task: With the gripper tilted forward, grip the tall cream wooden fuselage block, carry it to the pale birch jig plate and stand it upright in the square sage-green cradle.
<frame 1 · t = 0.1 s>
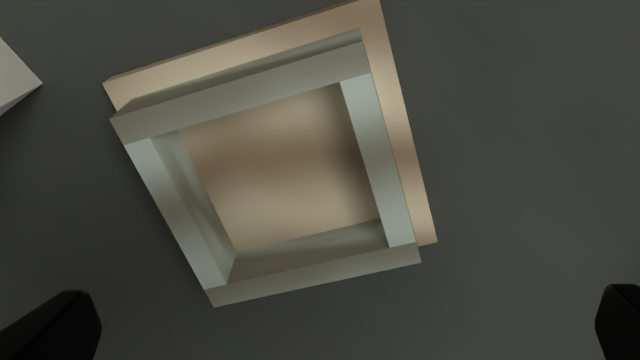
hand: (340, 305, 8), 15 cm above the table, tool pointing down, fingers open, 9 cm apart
jig: (284, 159, 23), on the table
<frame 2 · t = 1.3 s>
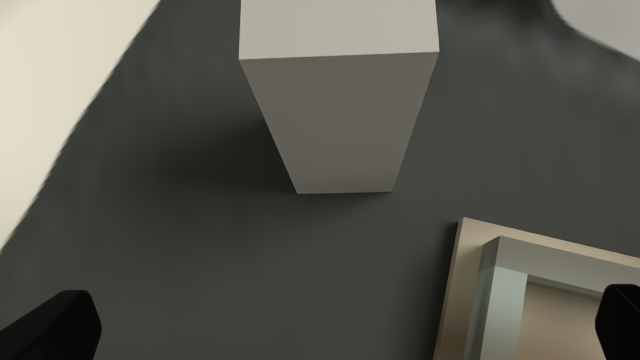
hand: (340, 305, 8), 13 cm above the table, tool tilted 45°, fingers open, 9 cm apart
fuselage block: (343, 148, 23), on the table
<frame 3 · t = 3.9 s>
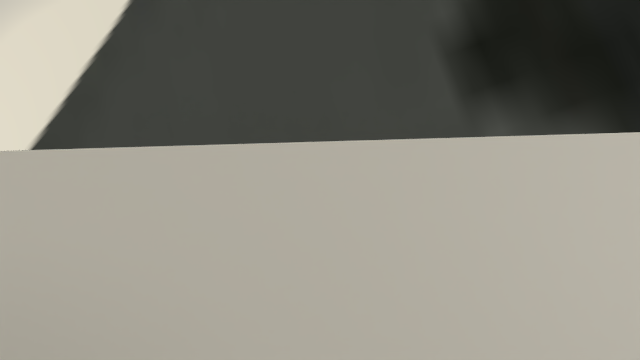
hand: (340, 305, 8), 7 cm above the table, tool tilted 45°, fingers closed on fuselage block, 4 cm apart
fuselage block: (345, 357, 14), on the table, touching gripper
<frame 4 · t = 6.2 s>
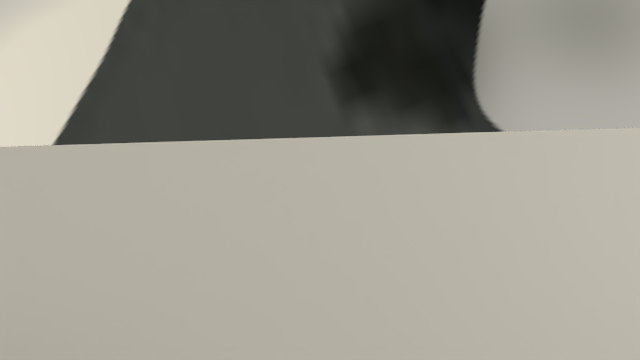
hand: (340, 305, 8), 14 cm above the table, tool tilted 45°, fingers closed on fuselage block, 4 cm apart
fuselage block: (344, 356, 14), point 7 cm above the table, touching gripper
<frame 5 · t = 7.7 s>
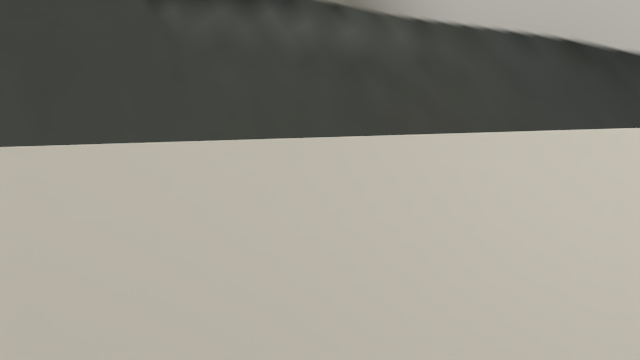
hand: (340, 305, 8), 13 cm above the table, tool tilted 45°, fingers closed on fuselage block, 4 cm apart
fuselage block: (345, 356, 14), point 6 cm above the table, touching gripper
when the fingers open (9 cm above the table, at t = 8.8 s): fuselage block drops 1 cm, resting on jig.
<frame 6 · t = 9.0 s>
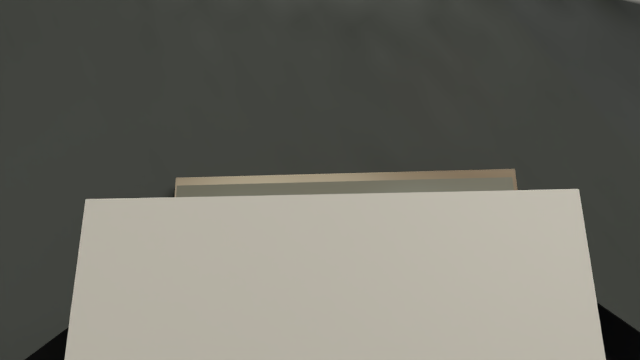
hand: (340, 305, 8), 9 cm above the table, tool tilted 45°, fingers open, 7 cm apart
jig: (346, 350, 17), on the table
fuselage block: (345, 351, 16), point 1 cm above the table, touching jig
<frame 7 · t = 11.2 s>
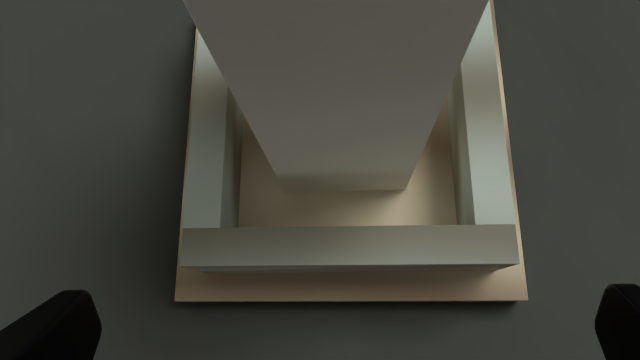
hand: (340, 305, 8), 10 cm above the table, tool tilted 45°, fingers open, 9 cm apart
jig: (344, 144, 19), on the table
fuselage block: (344, 134, 18), point 1 cm above the table, touching jig
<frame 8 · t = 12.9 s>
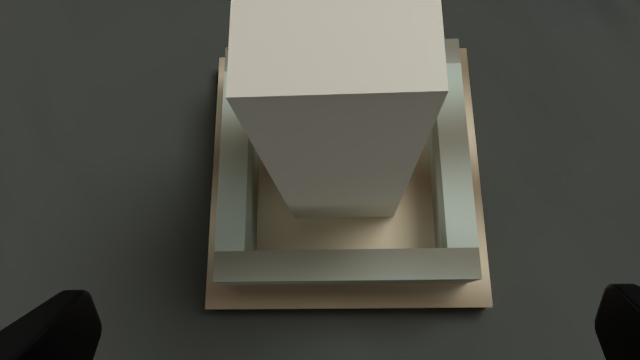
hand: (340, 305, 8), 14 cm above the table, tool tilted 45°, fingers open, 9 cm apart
jig: (343, 176, 23), on the table
fuselage block: (342, 170, 22), point 1 cm above the table, touching jig
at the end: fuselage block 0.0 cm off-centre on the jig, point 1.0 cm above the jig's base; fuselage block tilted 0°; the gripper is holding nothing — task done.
